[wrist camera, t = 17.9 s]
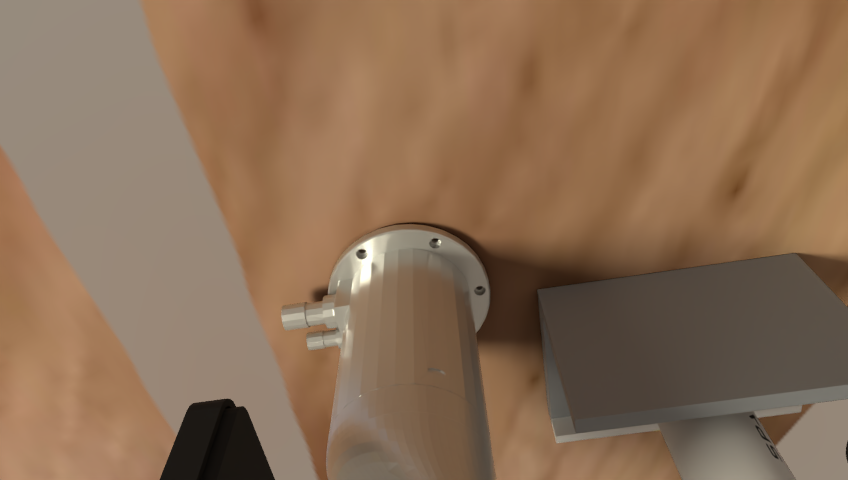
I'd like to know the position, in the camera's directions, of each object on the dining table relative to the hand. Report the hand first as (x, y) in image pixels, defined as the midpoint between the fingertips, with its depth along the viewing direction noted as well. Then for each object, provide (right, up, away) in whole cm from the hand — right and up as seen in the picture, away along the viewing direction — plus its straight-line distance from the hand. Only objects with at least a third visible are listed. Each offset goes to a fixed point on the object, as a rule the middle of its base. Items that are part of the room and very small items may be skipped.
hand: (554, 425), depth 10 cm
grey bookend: (+18, -5, +45) cm, 49 cm away
